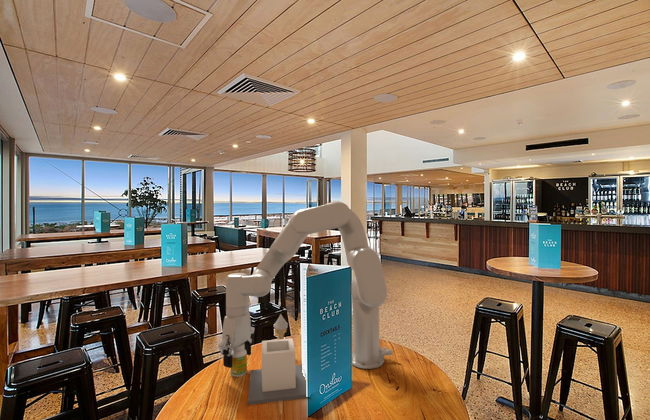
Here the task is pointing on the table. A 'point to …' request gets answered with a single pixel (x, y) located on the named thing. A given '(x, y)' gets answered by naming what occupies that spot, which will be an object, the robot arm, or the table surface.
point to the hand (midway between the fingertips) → (237, 360)
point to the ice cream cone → (281, 327)
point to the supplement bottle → (239, 361)
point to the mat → (277, 395)
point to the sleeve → (278, 365)
